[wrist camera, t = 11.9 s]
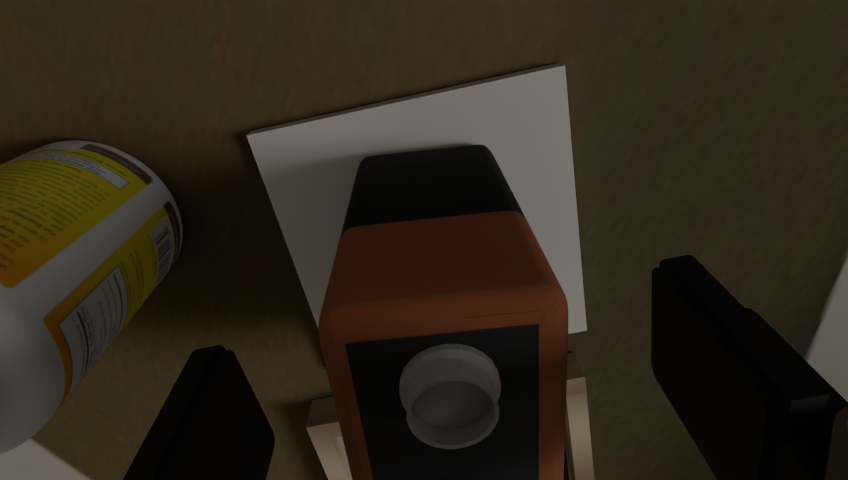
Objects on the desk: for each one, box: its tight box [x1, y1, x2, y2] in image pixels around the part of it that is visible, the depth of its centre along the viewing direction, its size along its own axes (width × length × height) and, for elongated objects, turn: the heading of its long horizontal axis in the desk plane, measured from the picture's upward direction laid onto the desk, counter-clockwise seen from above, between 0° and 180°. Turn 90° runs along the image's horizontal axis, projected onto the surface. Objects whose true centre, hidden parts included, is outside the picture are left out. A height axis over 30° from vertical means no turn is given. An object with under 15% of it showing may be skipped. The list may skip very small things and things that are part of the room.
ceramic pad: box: [246, 63, 587, 334], centre depth 18 cm, size 10×10×1 cm
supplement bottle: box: [0, 140, 183, 454], centre depth 13 cm, size 6×6×10 cm
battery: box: [318, 145, 568, 480], centre depth 13 cm, size 4×7×10 cm, turn 6°
